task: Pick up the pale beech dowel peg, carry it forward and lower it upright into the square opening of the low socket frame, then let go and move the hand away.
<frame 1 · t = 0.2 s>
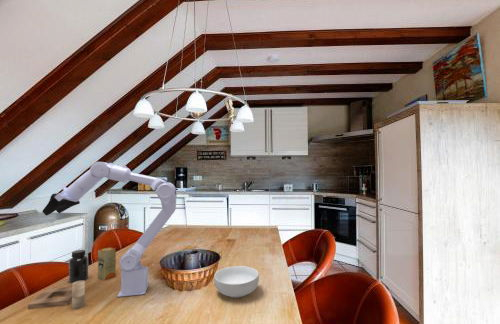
hand: (51, 212, 95), 31 cm above the table, tool tilted 45°, fingers open, 7 cm apart
peg: (78, 306, 88), on the table
shoe polish box: (106, 277, 113), on the table
socket block: (57, 298, 94), on the table
supplement bottle: (78, 280, 111), on the table
cereal bowl: (236, 293, 97), on the table
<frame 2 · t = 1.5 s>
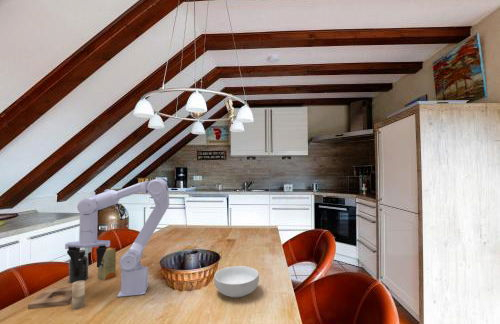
hand: (87, 267, 96), 10 cm above the table, tool pointing down, fingers open, 7 cm apart
nothing on the table moved.
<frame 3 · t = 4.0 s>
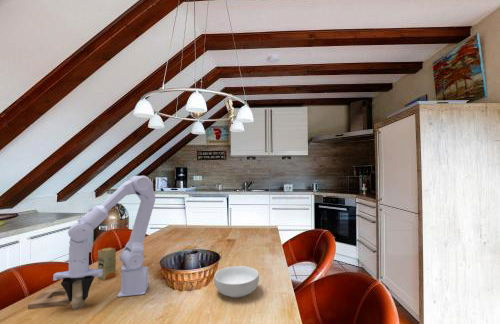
hand: (78, 299, 88), 2 cm above the table, tool pointing down, fingers closed on peg, 4 cm apart
peg: (78, 306, 88), on the table, touching gripper
everything else where it was.
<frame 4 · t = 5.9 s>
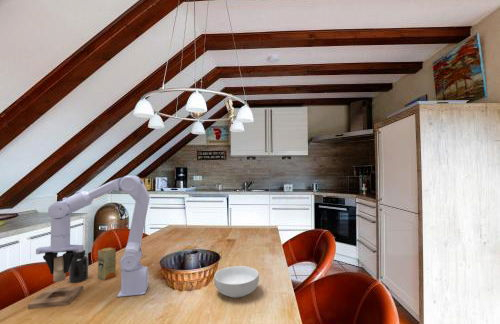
hand: (59, 272, 94), 9 cm above the table, tool pointing down, fingers closed on peg, 4 cm apart
peg: (59, 279, 94), point 7 cm above the table, touching gripper
everything else where it was.
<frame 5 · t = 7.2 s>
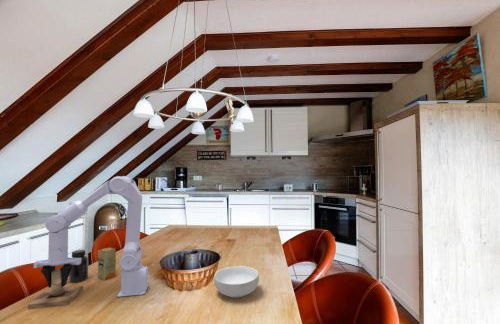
hand: (57, 285, 94), 5 cm above the table, tool pointing down, fingers closed on peg, 4 cm apart
peg: (57, 292, 94), point 2 cm above the table, touching gripper
everything else where it was.
when the fingers open (3 cm above the table, at t = 8.3 s): peg stays where it is, resting in socket block.
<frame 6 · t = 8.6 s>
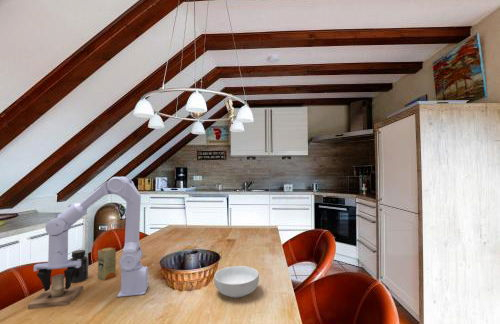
hand: (57, 289, 94), 3 cm above the table, tool pointing down, fingers open, 6 cm apart
peg: (57, 298, 94), resting in socket block
everything else where it was.
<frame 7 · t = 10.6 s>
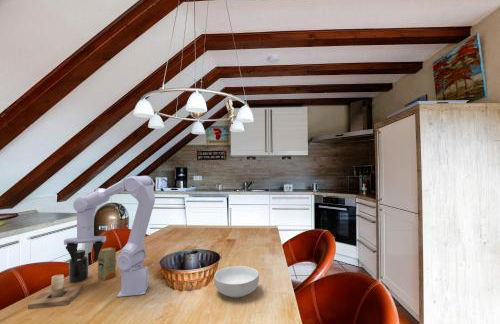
hand: (85, 261, 103), 10 cm above the table, tool pointing down, fingers open, 7 cm apart
nothing on the table moved.
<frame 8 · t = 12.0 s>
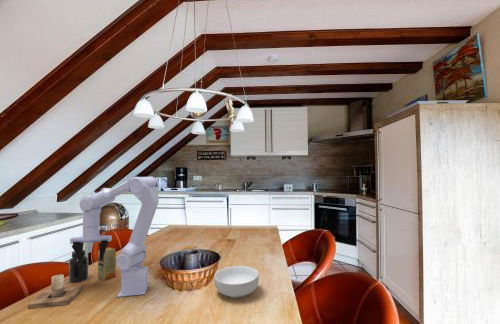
hand: (91, 260, 104), 10 cm above the table, tool pointing down, fingers open, 7 cm apart
nothing on the table moved.
at the end: peg 0.1 cm off-centre on the socket block, point 0.0 cm above the socket block's base; peg tilted 0°; the gripper is holding nothing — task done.
